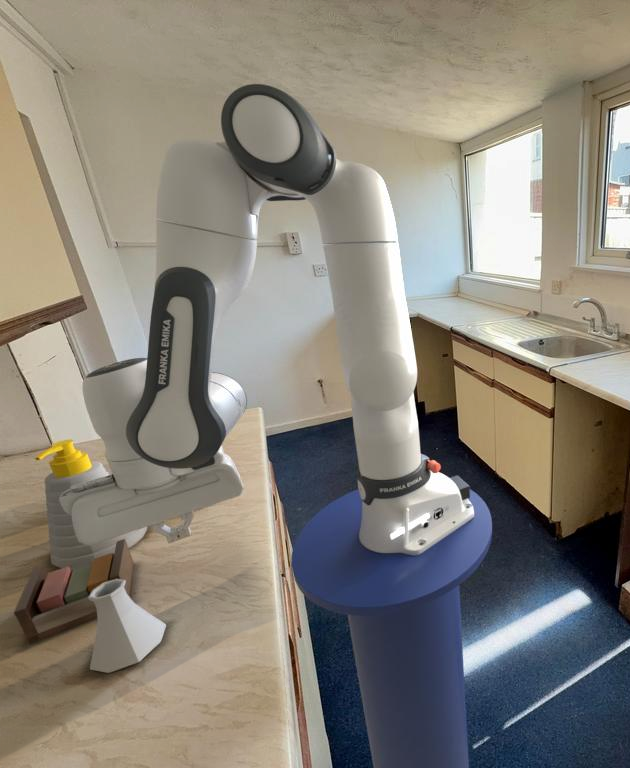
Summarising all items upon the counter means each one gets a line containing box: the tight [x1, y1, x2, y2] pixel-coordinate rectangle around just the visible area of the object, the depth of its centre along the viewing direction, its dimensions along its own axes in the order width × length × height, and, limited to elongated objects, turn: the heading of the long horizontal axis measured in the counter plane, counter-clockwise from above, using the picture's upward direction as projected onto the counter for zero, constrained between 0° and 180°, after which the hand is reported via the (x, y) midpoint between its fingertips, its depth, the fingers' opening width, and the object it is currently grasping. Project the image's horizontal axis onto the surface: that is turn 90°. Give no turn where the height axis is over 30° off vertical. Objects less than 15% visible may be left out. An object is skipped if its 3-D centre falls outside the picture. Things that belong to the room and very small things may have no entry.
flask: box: [88, 579, 167, 674], centre depth 51 cm, size 7×7×10 cm
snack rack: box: [13, 539, 136, 644], centre depth 59 cm, size 10×10×6 cm
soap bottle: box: [34, 438, 148, 569], centre depth 68 cm, size 12×12×20 cm
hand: (180, 537), depth 65 cm, fingers closed
